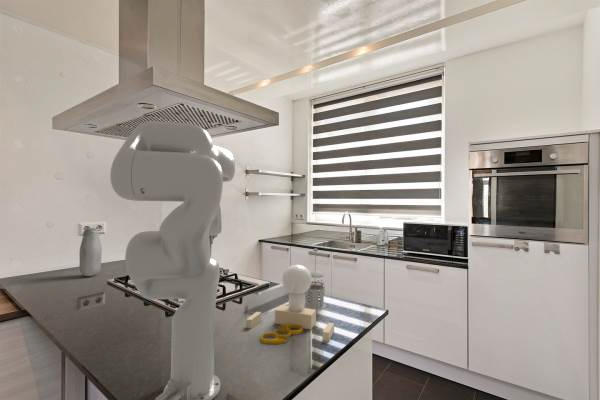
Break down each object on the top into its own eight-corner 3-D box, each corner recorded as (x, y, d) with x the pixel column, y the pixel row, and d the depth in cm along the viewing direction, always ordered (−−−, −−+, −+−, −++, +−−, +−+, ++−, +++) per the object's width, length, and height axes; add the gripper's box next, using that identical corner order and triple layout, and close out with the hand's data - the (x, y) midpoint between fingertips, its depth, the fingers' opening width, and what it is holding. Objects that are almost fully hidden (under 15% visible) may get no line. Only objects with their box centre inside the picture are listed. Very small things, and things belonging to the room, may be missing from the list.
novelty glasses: (310, 334, 102) (291, 325, 110) (310, 329, 102) (291, 320, 110) (271, 349, 91) (253, 338, 99) (271, 344, 91) (253, 333, 99)
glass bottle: (84, 274, 177) (85, 227, 177) (103, 273, 179) (104, 227, 179) (75, 278, 167) (77, 228, 167) (96, 277, 170) (97, 228, 170)
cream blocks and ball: (328, 341, 96) (329, 275, 96) (246, 327, 106) (247, 267, 106) (339, 322, 112) (339, 265, 112) (266, 311, 121) (267, 259, 122)
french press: (318, 301, 136) (319, 246, 136) (332, 309, 126) (333, 250, 126) (299, 304, 132) (300, 247, 132) (312, 312, 121) (313, 251, 122)
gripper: (201, 198, 85) (199, 263, 85) (230, 199, 99) (228, 254, 99) (179, 198, 87) (178, 261, 87) (210, 199, 101) (209, 253, 101)
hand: (205, 257), depth 93 cm, fingers closed
